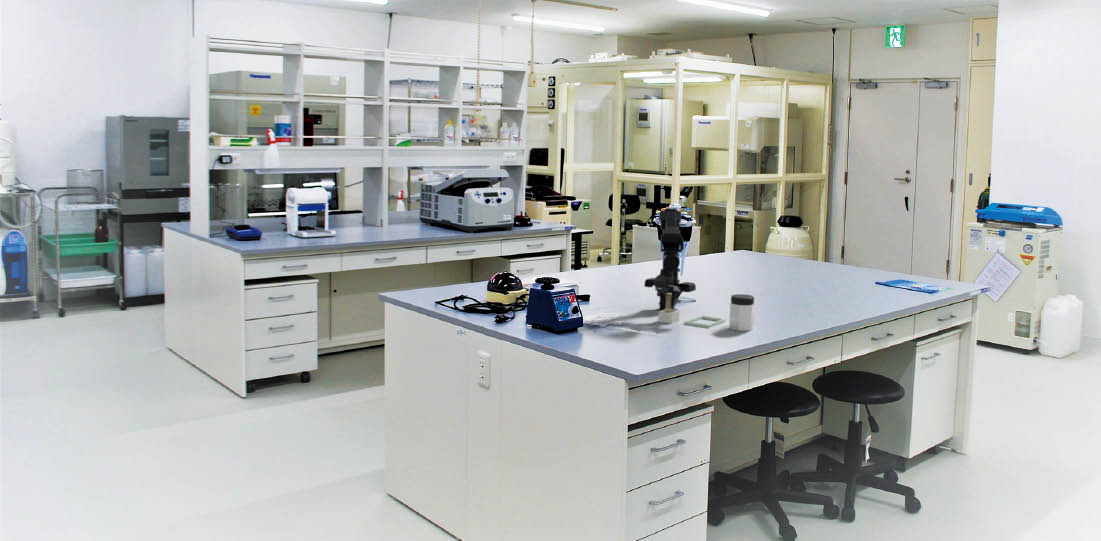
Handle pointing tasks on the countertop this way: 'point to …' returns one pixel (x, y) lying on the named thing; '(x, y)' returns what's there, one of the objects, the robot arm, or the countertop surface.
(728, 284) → the countertop surface
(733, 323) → the jar
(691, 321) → the tray
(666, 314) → the white square tube
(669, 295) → the dowel
